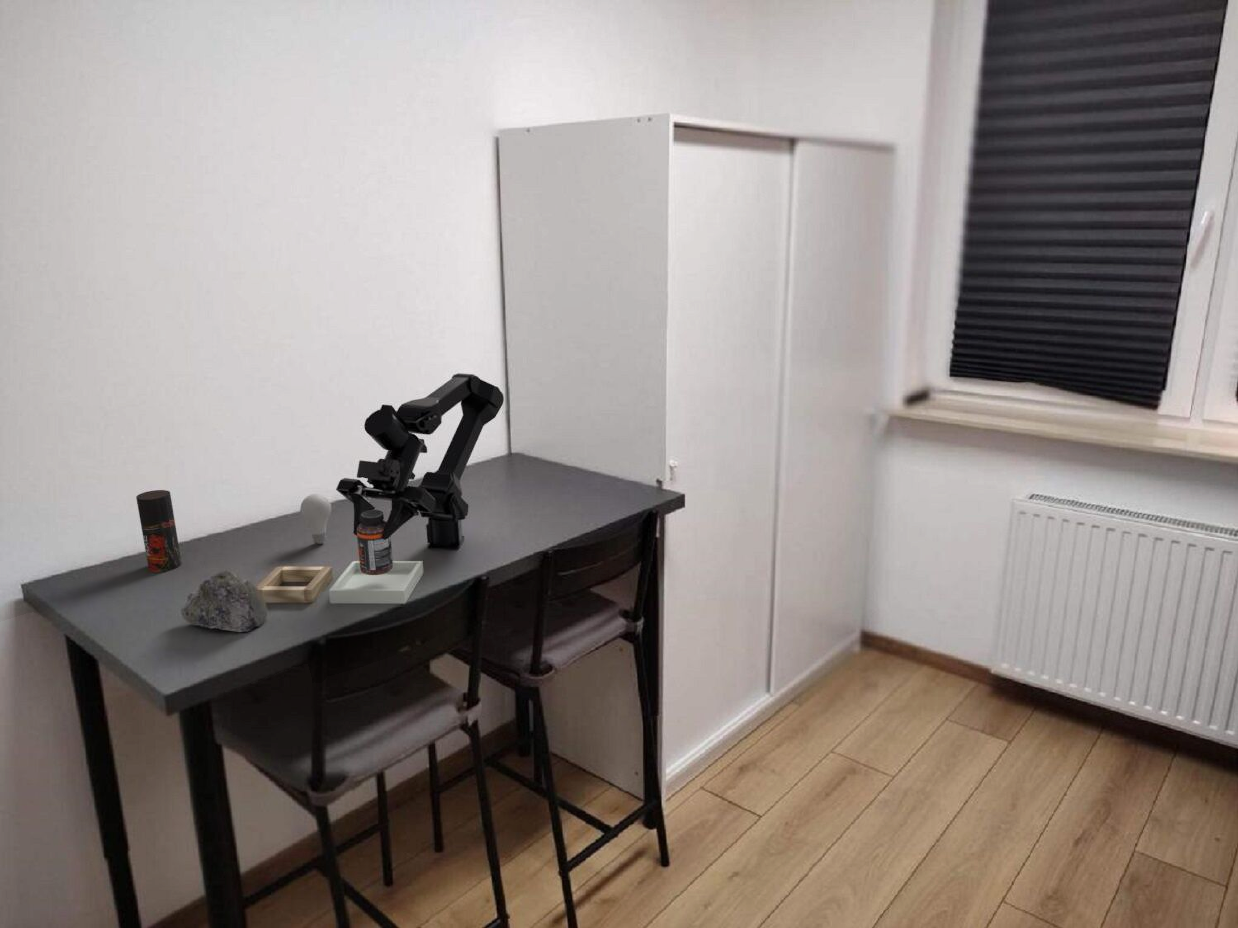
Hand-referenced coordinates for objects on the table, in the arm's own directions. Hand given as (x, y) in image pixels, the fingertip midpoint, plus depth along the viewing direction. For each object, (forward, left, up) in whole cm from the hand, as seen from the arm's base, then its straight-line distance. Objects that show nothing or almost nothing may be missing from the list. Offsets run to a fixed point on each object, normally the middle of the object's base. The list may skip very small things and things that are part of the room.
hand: (369, 536), depth 163 cm
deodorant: (+46, -11, -11) cm, 48 cm away
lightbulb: (+19, -23, -11) cm, 32 cm away
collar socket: (+15, 0, -11) cm, 18 cm away
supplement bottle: (0, -1, -7) cm, 7 cm away
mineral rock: (+22, +14, -11) cm, 28 cm away
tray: (0, -1, -11) cm, 11 cm away
